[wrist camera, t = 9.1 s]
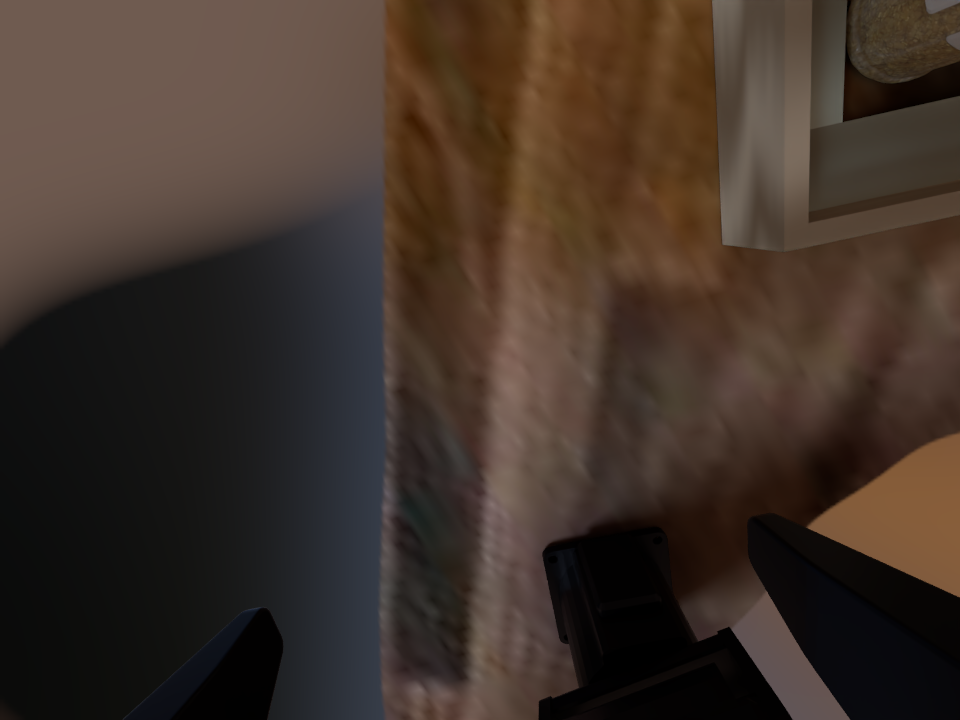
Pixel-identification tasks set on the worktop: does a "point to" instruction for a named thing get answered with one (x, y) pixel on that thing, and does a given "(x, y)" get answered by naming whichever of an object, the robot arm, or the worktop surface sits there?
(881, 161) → the peg box
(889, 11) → the sprinkles bottle
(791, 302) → the worktop surface
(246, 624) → the robot arm
